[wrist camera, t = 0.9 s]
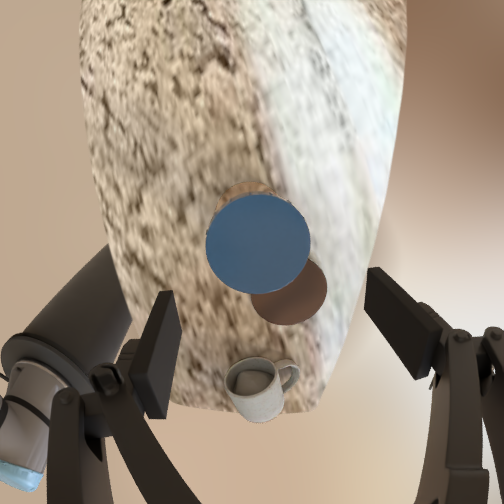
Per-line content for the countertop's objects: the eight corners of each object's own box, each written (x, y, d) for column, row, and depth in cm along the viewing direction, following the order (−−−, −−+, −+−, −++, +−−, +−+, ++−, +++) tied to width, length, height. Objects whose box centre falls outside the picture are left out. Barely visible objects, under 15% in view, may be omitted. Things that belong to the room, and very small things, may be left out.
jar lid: (192, 264, 27) (189, 272, 25) (232, 174, 24) (232, 176, 23) (278, 297, 29) (281, 307, 27) (322, 216, 26) (328, 221, 24)
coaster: (238, 309, 39) (238, 311, 39) (272, 243, 36) (273, 244, 36) (303, 332, 41) (303, 333, 41) (339, 273, 39) (340, 274, 38)
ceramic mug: (239, 397, 45) (242, 433, 38) (222, 363, 42) (223, 401, 35) (302, 380, 45) (313, 415, 38) (292, 344, 42) (304, 380, 35)
